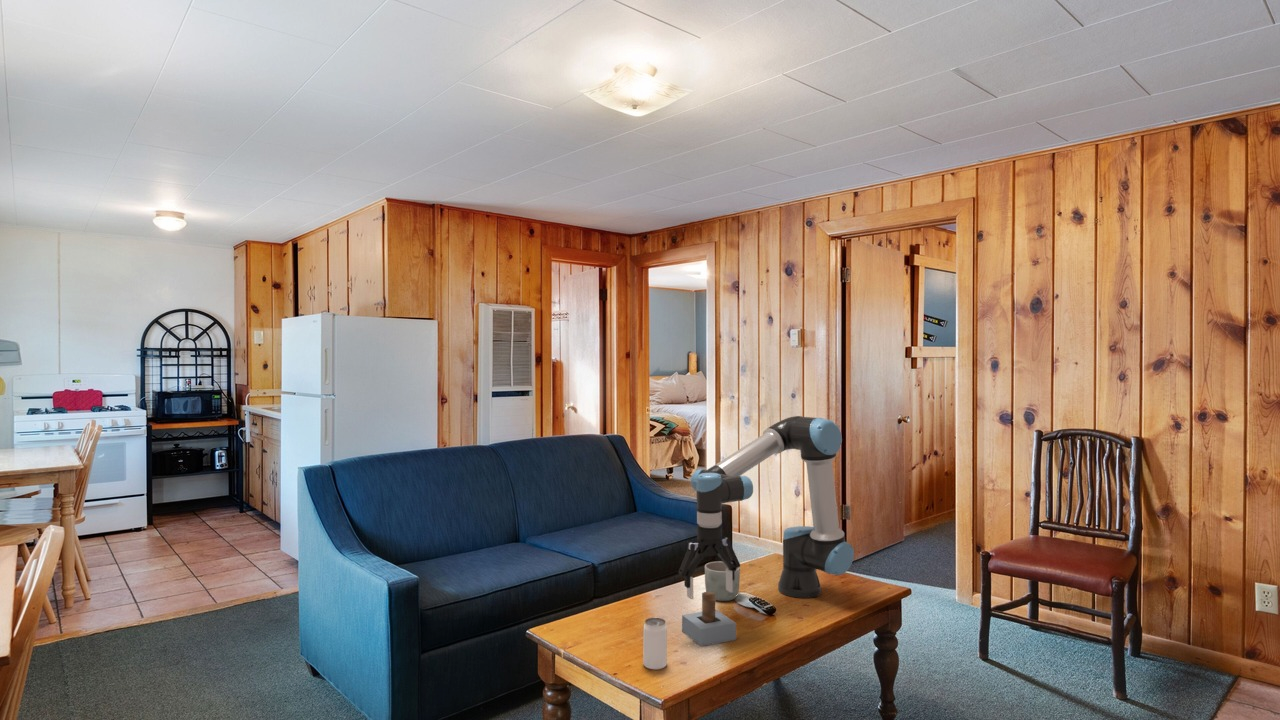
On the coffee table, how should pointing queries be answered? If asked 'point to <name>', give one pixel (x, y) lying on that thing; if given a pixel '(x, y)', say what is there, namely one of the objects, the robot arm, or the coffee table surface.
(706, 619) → the dowel
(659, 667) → the can
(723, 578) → the planter
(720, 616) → the socket
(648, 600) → the coffee table surface
